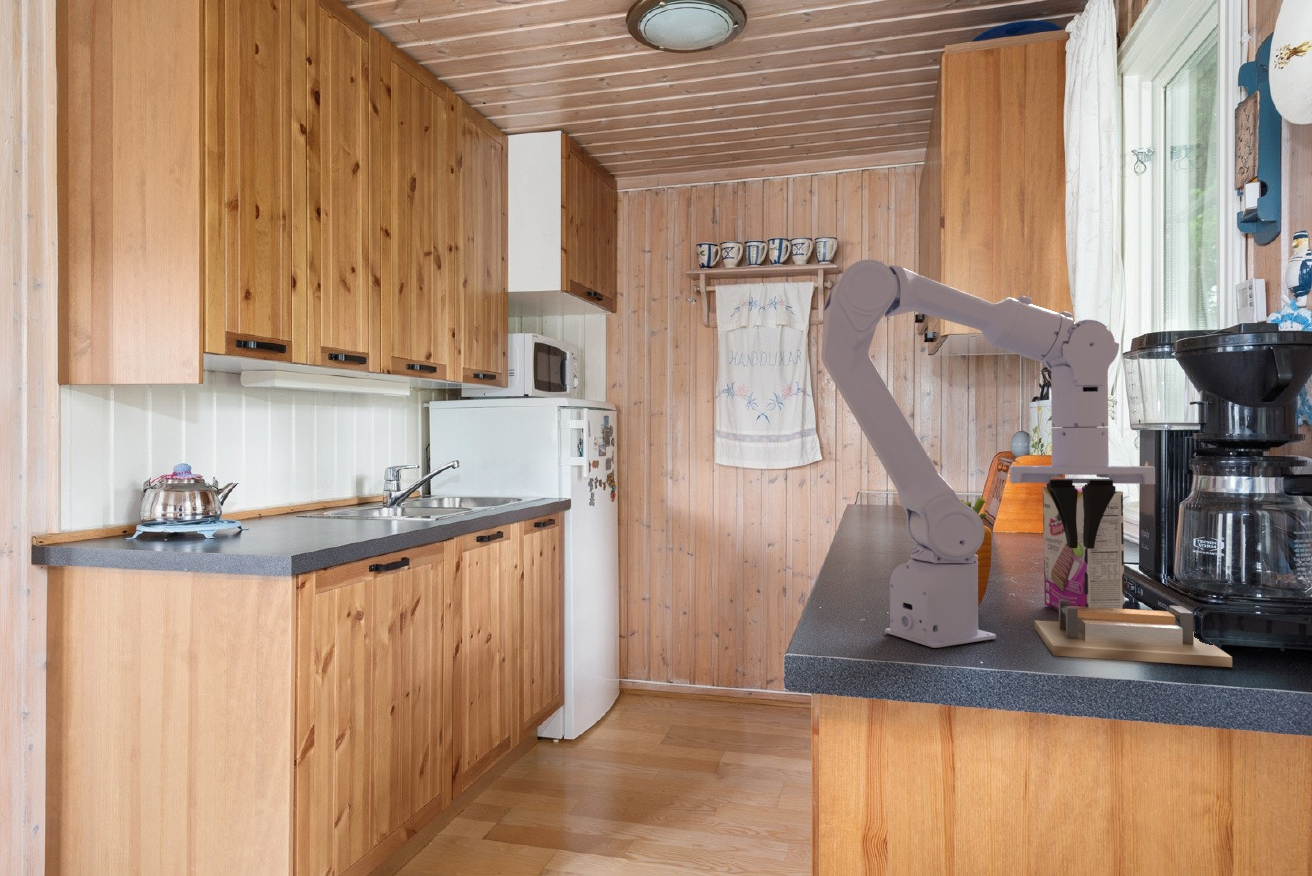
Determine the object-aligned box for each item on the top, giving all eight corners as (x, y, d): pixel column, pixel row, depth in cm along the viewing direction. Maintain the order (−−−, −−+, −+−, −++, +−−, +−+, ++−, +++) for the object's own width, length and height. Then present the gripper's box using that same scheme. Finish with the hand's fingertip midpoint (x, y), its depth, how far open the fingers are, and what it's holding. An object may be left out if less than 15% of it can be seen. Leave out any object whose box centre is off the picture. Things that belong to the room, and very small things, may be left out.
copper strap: (1065, 617, 87) (1065, 609, 87) (1061, 613, 89) (1061, 605, 89) (1175, 624, 84) (1175, 615, 84) (1167, 619, 86) (1167, 610, 86)
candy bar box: (1041, 606, 107) (1040, 484, 107) (1078, 606, 107) (1077, 484, 107) (1085, 626, 96) (1084, 490, 96) (1127, 626, 96) (1126, 489, 96)
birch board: (1053, 655, 83) (1053, 645, 83) (1034, 628, 94) (1034, 620, 94) (1232, 667, 78) (1232, 657, 78) (1189, 637, 90) (1189, 628, 90)
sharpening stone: (1069, 641, 85) (1069, 610, 85) (1057, 626, 92) (1056, 597, 92) (1199, 649, 81) (1199, 616, 81) (1176, 632, 88) (1176, 603, 88)
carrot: (947, 607, 107) (947, 495, 107) (985, 607, 107) (984, 495, 106) (960, 615, 102) (960, 498, 102) (1000, 615, 102) (999, 498, 102)
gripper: (1141, 427, 92) (1143, 544, 92) (1005, 428, 96) (1006, 540, 96) (1160, 426, 85) (1161, 553, 85) (1013, 428, 89) (1014, 548, 89)
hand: (1080, 547), depth 90 cm, fingers closed
